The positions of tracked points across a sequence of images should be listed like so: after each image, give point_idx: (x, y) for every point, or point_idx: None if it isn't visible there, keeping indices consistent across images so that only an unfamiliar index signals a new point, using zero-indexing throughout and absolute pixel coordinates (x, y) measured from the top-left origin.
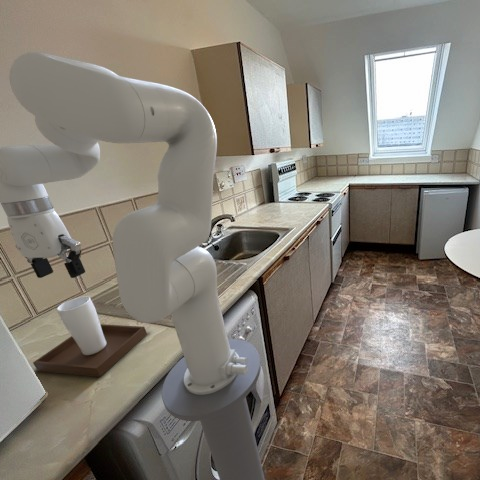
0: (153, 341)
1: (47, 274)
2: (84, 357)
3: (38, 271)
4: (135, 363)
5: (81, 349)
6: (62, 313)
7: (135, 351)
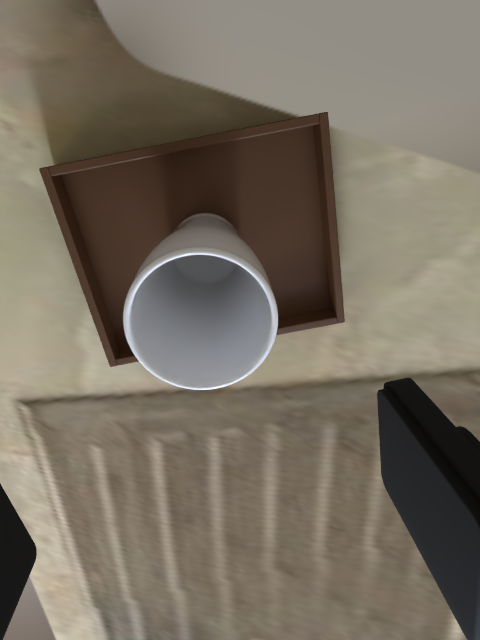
0: (59, 333)
1: (380, 439)
2: (200, 207)
3: (411, 438)
4: (7, 246)
5: (203, 216)
6: (177, 247)
7: (68, 284)
